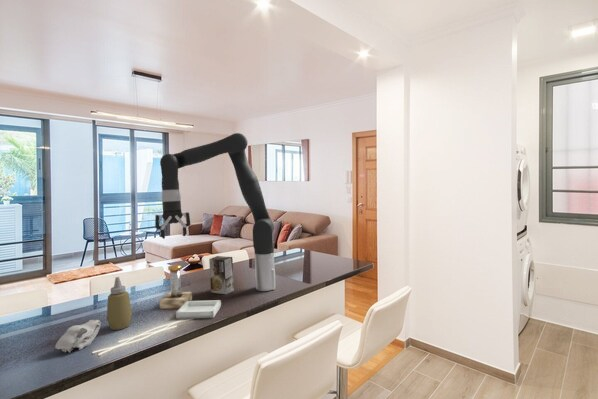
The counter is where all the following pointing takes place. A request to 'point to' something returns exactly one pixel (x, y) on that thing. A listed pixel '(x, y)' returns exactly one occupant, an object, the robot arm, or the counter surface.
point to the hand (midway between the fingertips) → (174, 237)
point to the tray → (199, 309)
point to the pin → (175, 281)
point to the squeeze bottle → (118, 307)
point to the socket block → (175, 300)
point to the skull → (78, 336)
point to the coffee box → (221, 274)
